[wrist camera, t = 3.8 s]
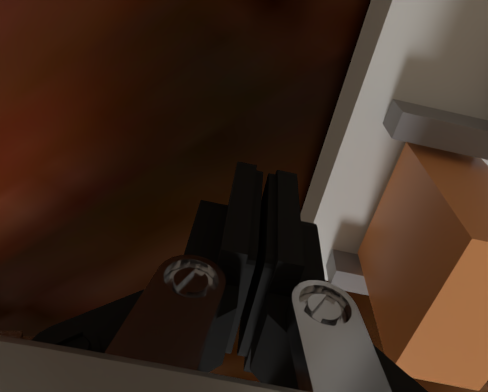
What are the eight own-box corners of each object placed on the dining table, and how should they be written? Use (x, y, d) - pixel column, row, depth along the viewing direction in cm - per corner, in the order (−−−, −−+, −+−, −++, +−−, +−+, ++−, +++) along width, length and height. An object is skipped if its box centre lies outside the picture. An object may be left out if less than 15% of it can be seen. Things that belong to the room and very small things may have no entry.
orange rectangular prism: (480, 158, 13) (583, 262, 9) (421, 265, 15) (478, 390, 11) (406, 141, 13) (472, 238, 8) (357, 252, 15) (389, 373, 11)
